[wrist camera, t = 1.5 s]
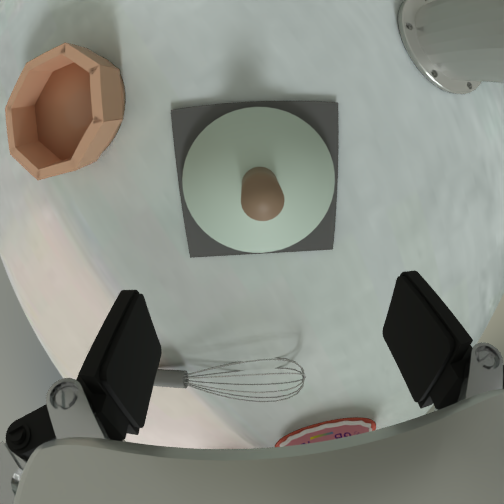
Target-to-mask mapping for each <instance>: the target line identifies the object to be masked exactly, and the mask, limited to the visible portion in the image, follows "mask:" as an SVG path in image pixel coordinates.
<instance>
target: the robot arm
mask: <svg viewBox="0 0 504 504" xmlns="http://www.w3.org/2000/svg"><path fill="white" fill-rule="evenodd" d="M398 23H399V30H400V34H401V38H402V41H403V43H404V46H405V48H406V50H407V52H408V54H409V56H410V58H411V60H412V61H413V62H414V64H415V65H416V67H417V68H418V69H419V71H420V72H421V73H422V74H423V75H424V76H425V77H426V78H427V79H428V80H429V81H430V82H431V83H433V84H434V85H435V86H437V87H439V88H440V89H442V90H444V91H447V92H449V93H455V94H466V93H470V92H472V91H474V90H475V89H476V88H477V87H478V86H479V85H480V83H481V81H482V82H497V83H504V0H404V2H403V3H402V4H401V7H400V10H399V16H398ZM383 337H384V339H385V341H386V343H387V345H388V347H389V349H390V351H391V353H392V355H393V357H394V359H395V361H396V363H397V365H398V367H399V369H400V372H401V374H402V376H403V378H404V380H405V382H406V384H407V386H408V389H409V391H410V393H411V395H412V397H413V399H414V401H415V402H418V404H419V406H420V408H424V407H426V406H429V405H432V404H434V406H435V410H434V412H432V413H429V414H426V415H423V416H420V417H417V418H414V419H412V420H408V421H405V422H402V423H399V424H396V425H392V426H389V427H385V428H382V429H378V430H374V431H370V432H366V433H362V434H358V435H353V436H348V437H344V438H339V439H333V440H328V441H322V442H315V443H309V444H301V445H293V446H283V447H272V448H257V449H191V448H177V447H165V446H154V445H146V444H138V443H131V442H126V441H125V440H124V439H125V437H126V433H129V434H135V435H138V433H139V428H142V427H143V426H144V424H145V419H146V415H147V410H148V406H149V402H150V397H151V393H152V389H153V385H154V381H155V377H156V373H157V369H158V365H159V361H160V357H161V345H160V342H159V340H158V337H157V334H156V331H155V329H154V326H153V323H152V320H151V317H150V314H149V311H148V308H147V305H146V302H145V299H144V296H143V294H139V292H138V291H137V290H122V291H121V292H120V294H119V296H118V297H117V299H116V301H115V303H114V305H113V306H112V308H111V310H110V312H109V314H108V316H107V317H106V319H105V321H104V323H103V325H102V327H101V329H100V331H99V333H98V335H97V337H96V339H95V341H94V343H93V345H92V347H91V349H90V351H89V353H88V355H87V357H86V359H85V361H84V363H83V366H82V368H81V370H80V372H79V375H78V377H77V379H76V380H75V379H72V378H64V379H61V380H58V381H57V382H55V383H54V384H53V385H52V386H51V387H50V388H49V390H48V392H47V395H46V405H44V406H42V407H40V408H39V409H37V410H35V411H33V412H31V413H29V414H27V415H25V416H24V417H22V418H20V419H18V420H16V421H14V422H13V423H12V424H11V425H10V426H9V428H8V430H7V433H6V443H4V442H3V441H2V442H1V443H0V504H504V365H503V359H502V356H501V353H500V352H499V351H498V349H497V348H495V347H494V346H493V345H491V344H488V343H478V344H476V345H475V346H474V347H473V348H472V347H471V345H470V344H471V343H472V341H473V340H472V338H471V337H470V336H469V334H468V333H467V332H466V330H465V329H464V328H463V326H462V325H461V324H460V322H459V321H458V320H457V318H456V317H455V316H454V315H453V313H452V312H451V311H450V310H449V308H448V307H447V306H446V305H445V303H444V302H443V301H442V300H441V299H440V297H439V296H438V295H437V294H436V293H435V291H434V290H433V289H432V288H431V287H430V286H429V284H428V283H427V282H426V281H425V280H424V279H423V278H422V276H421V275H420V274H419V273H418V272H417V271H407V272H402V273H401V275H400V276H399V277H398V278H397V280H396V284H395V288H394V292H393V296H392V299H391V303H390V307H389V310H388V314H387V317H386V320H385V324H384V327H383Z"/></svg>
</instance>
